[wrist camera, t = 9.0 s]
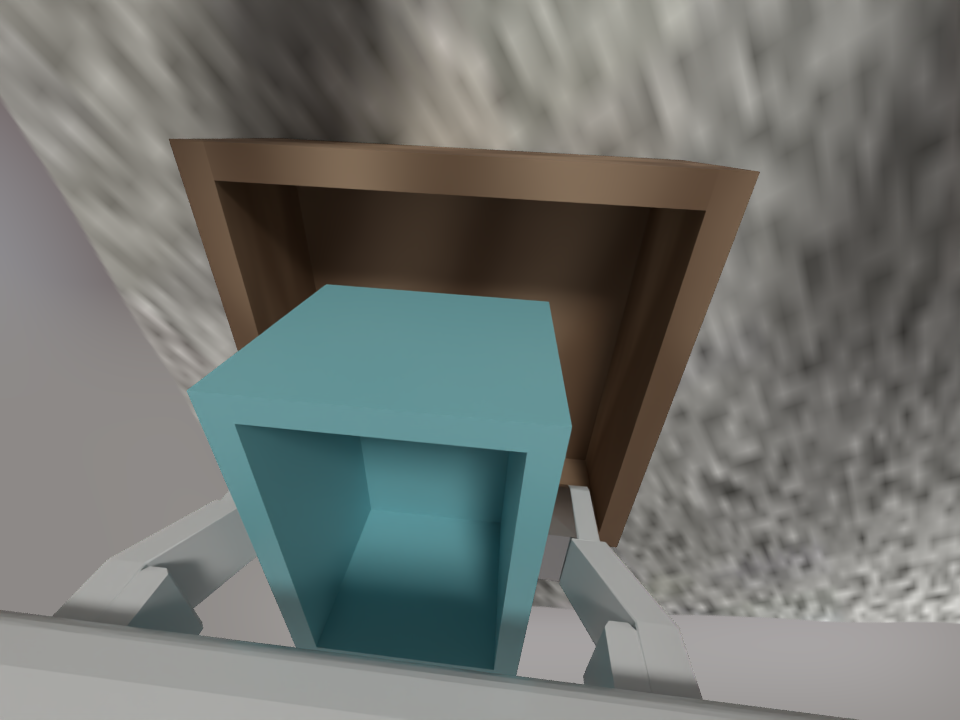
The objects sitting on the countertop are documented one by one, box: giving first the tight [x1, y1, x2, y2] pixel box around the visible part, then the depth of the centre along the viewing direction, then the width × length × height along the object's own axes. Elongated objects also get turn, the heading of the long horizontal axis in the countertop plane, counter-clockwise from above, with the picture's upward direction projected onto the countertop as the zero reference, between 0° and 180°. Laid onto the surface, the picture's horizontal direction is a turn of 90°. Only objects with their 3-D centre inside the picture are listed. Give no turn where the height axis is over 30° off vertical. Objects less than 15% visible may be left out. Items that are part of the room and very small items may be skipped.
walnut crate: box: [169, 138, 760, 547], centre depth 17 cm, size 16×16×6 cm
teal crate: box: [187, 284, 572, 676], centre depth 10 cm, size 6×9×5 cm, turn 177°
